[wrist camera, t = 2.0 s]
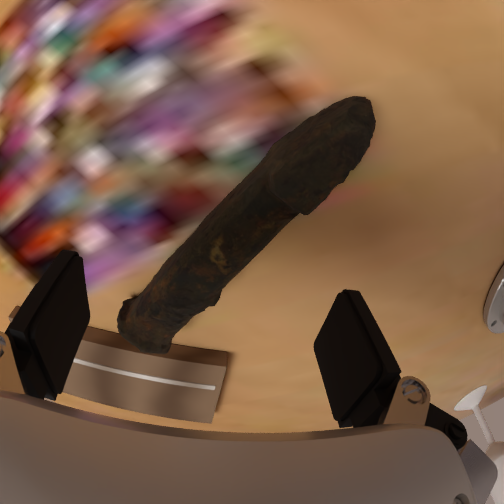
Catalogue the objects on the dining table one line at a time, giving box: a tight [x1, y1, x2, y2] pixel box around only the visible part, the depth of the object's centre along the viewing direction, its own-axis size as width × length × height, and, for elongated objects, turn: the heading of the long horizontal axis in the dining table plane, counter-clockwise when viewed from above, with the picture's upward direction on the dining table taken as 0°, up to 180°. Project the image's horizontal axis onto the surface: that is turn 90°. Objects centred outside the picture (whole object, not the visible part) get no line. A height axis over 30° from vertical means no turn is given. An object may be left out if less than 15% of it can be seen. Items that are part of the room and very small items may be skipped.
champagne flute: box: [454, 385, 504, 504], centre depth 24 cm, size 7×7×24 cm
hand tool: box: [117, 96, 376, 354], centre depth 15 cm, size 19×4×5 cm, turn 136°
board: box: [9, 306, 227, 424], centre depth 23 cm, size 19×10×2 cm, turn 78°
